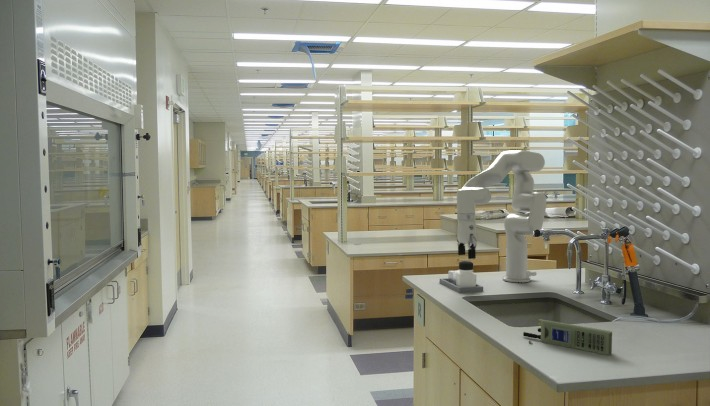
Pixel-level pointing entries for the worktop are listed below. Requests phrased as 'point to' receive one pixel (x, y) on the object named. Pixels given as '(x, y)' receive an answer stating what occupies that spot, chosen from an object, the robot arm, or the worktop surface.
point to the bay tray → (460, 290)
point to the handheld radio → (574, 336)
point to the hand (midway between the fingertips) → (466, 256)
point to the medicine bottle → (465, 275)
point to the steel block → (452, 276)
